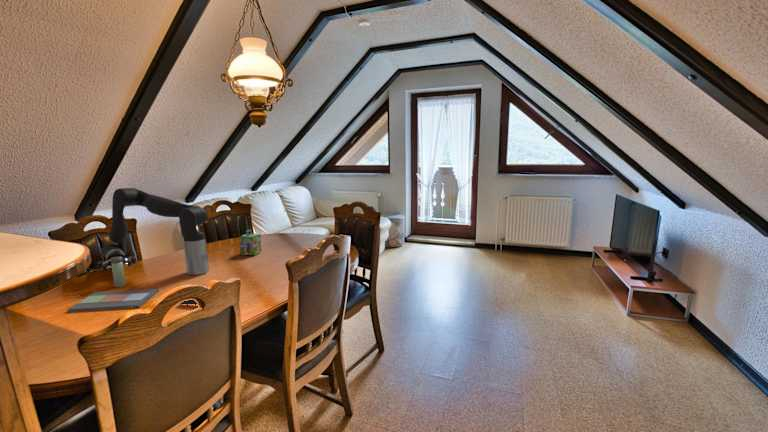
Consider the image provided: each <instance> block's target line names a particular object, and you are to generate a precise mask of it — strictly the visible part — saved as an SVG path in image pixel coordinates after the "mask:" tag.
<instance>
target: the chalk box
mask: <svg viewBox="0 0 768 432" xmlns="http://www.w3.org/2000/svg"><path fill="white" fill-rule="evenodd" d="M245 232H246V234H242V235H240V236H238V239H239V242H238V243H239V255H240V256H246V255H255V256H256V254H257V255H258V253H259V254H261V253H262V252H261V251H262V238H261V237H262V235H261V234H260V233H259V234H257V233H252V230H251V228H250V229H246V230H245ZM260 252H261V253H260Z"/></svg>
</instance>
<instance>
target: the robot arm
mask: <svg viewBox="0 0 768 432" xmlns="http://www.w3.org/2000/svg"><path fill="white" fill-rule="evenodd" d="M111 204H112V205H111V206H112V209H111V210H112V212H111V213H112V214H111V215H112V217H111V219H112V221H111V227H110V232H109V234H108V235H109V236H108V240H109V241H110V242H113V243H106V244H104V245H102V247H101V255H102V257H104V258H105V260H104V261H101V260H98V261H97V264H96V265H97V266H96V267H97V270H101V269H102V270H105V271H108V269H111V268H112V264H111V258H112V257H117V256H121V257H122V260H123V266H128V267H131V266H132V264H133V265H135V264H137V263H136V262H137V261H136V258H135V256H134V255H132V256H130V257H128V258H127V257H126V255H127V251H128V250H127V245H126V239H127V235H128V230H129V225H128V222H127V220H126V218H125V214H124V209H125V208H126V207H130V206H132V207H133V206H140V207H145V208H146V210H147V211H148V212H149V213H152V214H153V215H157V216H160V217H166V218H178V220H179V226H180V232H181V235H182V238H183V245H184V255H185V256H184V257H185V267H186V270H185V271H186V275H189V276H199V275H204V274H206V273H208V272H209V270H210V263H209V255H208V253H209V252H207V247H206V235H205V232H202V231H198V229H197V226H199V225H202V224H204V223H206V222H207V220H208V217H209V214H208V212H207V211H206V209H204V208H203V207H201V206H198V205H192V204H186V203H181V202H180V201H177V200H176V201H175V200H173V199H170V198H167V197H162V196H159V195H155V194H152V193H151V194H150V193H147V192H145V191H142V190H140V189H138V188H134V187H127V188H126V187H124V188H122V187H121V188H117V189H115V190H114V192H113V194H112V203H111Z"/></svg>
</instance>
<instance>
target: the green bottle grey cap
mask: <svg viewBox="0 0 768 432" xmlns="http://www.w3.org/2000/svg"><path fill="white" fill-rule="evenodd" d="M111 264H112V267H111V271H112V278H113V285H114V287H115V288H120V287H124V286H126V277H125V276H126V275H125V269H124V265H123V260H122V257H121V256H117V257H112V258H111Z"/></svg>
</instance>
